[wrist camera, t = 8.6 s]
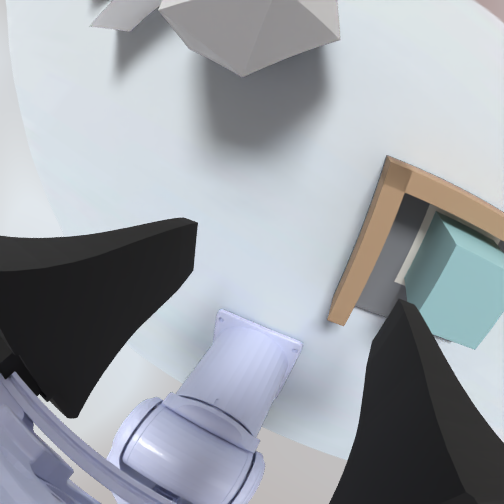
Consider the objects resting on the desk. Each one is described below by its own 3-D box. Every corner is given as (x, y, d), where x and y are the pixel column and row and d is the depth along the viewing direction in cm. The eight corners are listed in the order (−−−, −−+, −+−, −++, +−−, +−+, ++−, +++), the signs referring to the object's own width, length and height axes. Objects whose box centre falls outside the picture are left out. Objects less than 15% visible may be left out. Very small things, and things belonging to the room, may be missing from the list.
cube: (494, 240, 13) (523, 280, 9) (460, 300, 16) (474, 349, 12) (435, 210, 15) (456, 244, 10) (404, 277, 17) (409, 325, 13)
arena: (453, 339, 18) (458, 365, 15) (333, 294, 20) (327, 319, 18) (521, 223, 12) (540, 242, 10) (386, 155, 15) (390, 161, 12)
